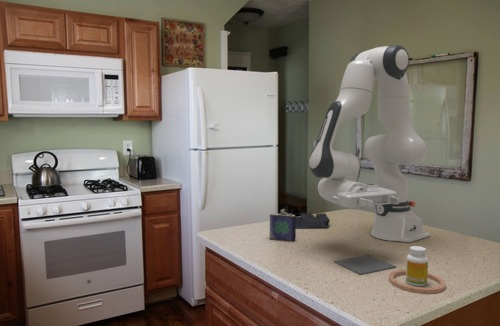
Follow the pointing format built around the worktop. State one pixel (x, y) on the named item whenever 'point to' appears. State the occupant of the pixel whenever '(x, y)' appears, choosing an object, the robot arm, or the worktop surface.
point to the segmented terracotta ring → (417, 289)
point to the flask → (283, 226)
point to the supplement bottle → (417, 266)
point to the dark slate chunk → (312, 221)
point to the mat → (364, 264)
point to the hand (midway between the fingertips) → (385, 202)
